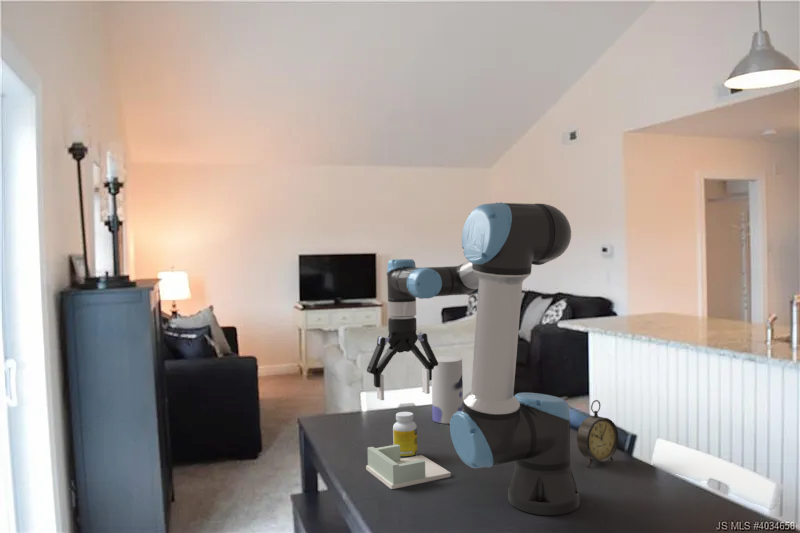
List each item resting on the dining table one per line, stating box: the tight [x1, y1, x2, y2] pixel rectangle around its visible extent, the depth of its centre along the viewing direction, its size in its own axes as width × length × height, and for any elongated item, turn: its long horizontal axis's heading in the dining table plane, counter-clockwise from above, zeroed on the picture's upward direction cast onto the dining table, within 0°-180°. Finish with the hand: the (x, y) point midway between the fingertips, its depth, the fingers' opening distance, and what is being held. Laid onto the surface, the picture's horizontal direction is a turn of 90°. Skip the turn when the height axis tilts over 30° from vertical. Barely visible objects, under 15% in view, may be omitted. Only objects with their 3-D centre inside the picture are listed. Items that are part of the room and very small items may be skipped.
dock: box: [365, 444, 452, 490], centre depth 154 cm, size 15×16×6 cm
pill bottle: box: [392, 411, 418, 459], centre depth 166 cm, size 6×6×12 cm
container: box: [431, 355, 464, 425], centre depth 200 cm, size 10×10×20 cm
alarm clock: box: [576, 399, 620, 468], centre depth 157 cm, size 11×5×16 cm, turn 119°
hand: (403, 396), depth 166 cm, fingers open, 13 cm apart
